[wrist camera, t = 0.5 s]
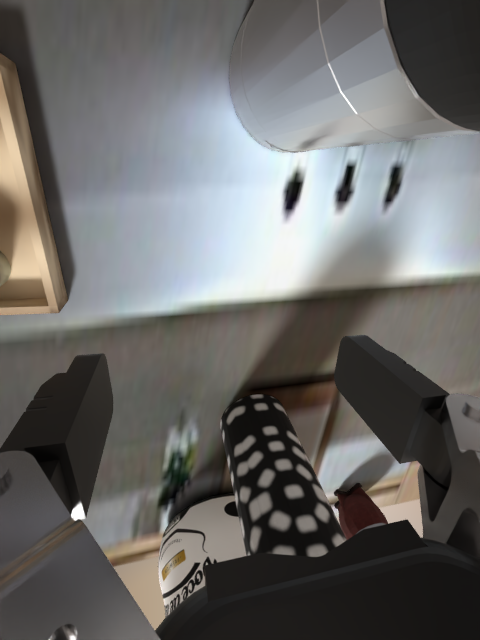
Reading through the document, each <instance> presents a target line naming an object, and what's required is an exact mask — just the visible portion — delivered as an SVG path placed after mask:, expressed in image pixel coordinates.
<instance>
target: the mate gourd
mask: <svg viewBox="0 0 480 640" xmlns="http://www.w3.org/2000/svg"><path fill="white" fill-rule="evenodd" d="M361 487H362V486H361V485H360V483H357V484H356V485H355V486H354V487H353V488H352V489H351V490H350V491H348V492H347V493H346V492H342V491H338V490H336V491H335V492H334V494H335V496H338V499H339V501H338V502H337V503H336V504H335V505H334V506H335V508H336V509H338V511H339V521H340V527H341V529H342V531H343V533H344V535H345V537H346V539H347V540H348V539H349V538H351V537H352V536H354V535H355V534H357V533H358V532H360V531H362V530H363V529H367V528H372V527H376V526H381V525H385V524H388V522H387V520H386V518H385V516H384V515H383V513H382V512H381V511H380V509H379V508H378V507H377V506H376V505H375V504H374V502H373V501H372V500H371V498H370V497H369V496H368V495H367V494H366V493H365V492H364V491H363V490H362V489H361Z"/></svg>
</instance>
